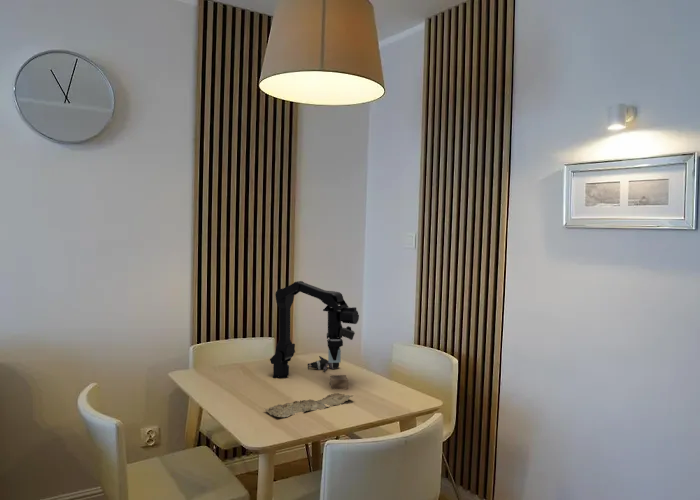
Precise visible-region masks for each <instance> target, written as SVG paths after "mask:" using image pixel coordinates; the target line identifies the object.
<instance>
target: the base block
mask: <svg viewBox="0 0 700 500" xmlns="http://www.w3.org/2000/svg"><path fill="white" fill-rule="evenodd" d="M328 381H329V387H330V389H331V390H348V389H349V379H348V377H347V375H345V374H338V375H337V374H335V375H331V374H330V375H329V380H328Z"/></svg>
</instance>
